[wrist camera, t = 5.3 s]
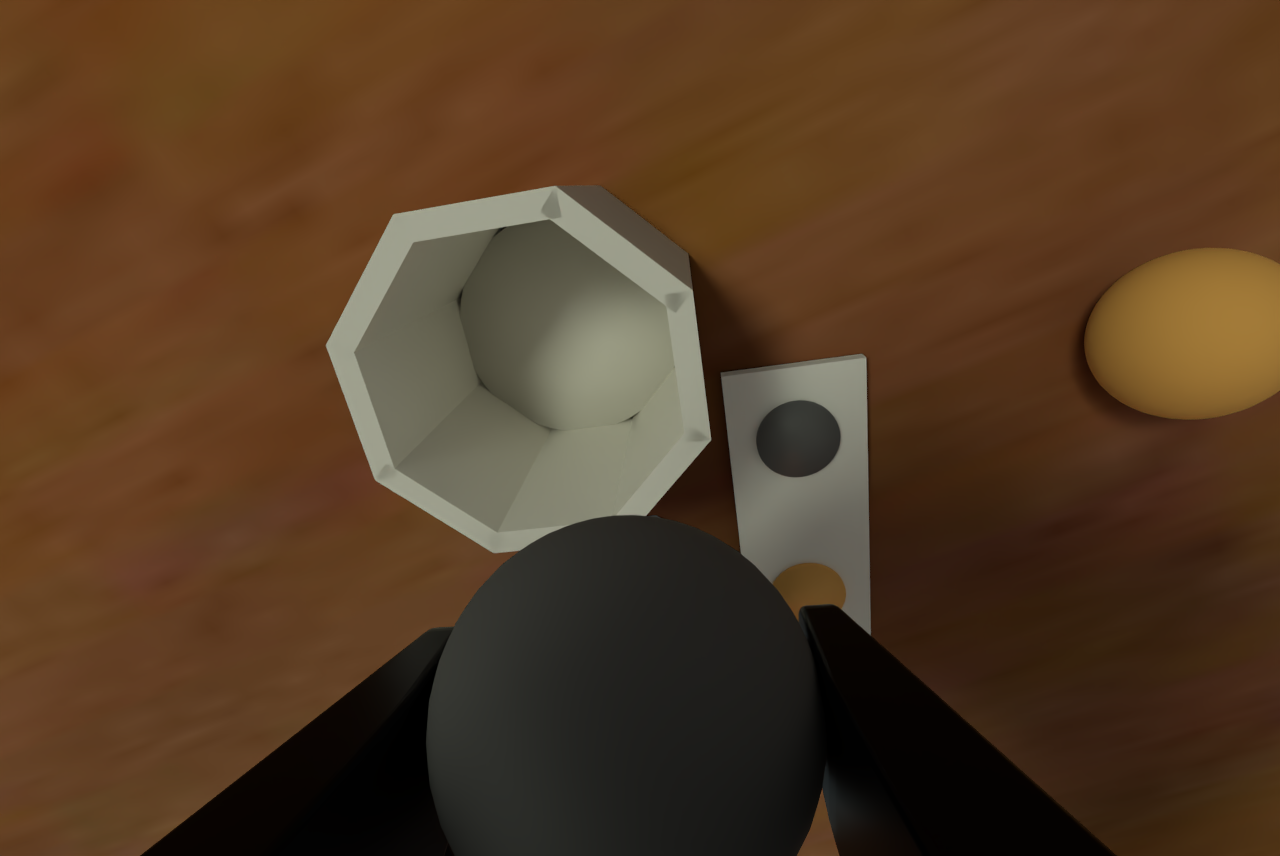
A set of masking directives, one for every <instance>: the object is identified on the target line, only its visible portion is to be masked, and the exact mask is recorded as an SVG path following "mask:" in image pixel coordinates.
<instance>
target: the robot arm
mask: <svg viewBox="0 0 1280 856" xmlns="http://www.w3.org/2000/svg"><path fill="white" fill-rule="evenodd" d="M799 624H800V626H801V628H802V630H803V632H804V634H805V636H806V638H807V640H808V643H809V646H810V648H811V651H812V654H813V656H814V659H815V663H816V668H817V672H818V677H819V682H820V686H821V693H822V699H823V706H824V712H825V721H826V733H827V753H826V764H825V772H824V779H823V786H822V788H823V793H824V798H825V802H826V807H827V812H828V816H829V820H830V824H831V827H832V831H833V835H834V838H835V842H836V845H837V849H838V852H839V855H840V856H1117V855H1115V854H1114V853H1113V852H1112V851H1111V850H1110V849H1109V848H1108V847H1107V846H1105V845H1104V844H1103V843H1102V842H1101V841H1100V840H1099V839H1098V838H1096V837H1095V836H1094V835H1093V834H1092V833H1091V832H1090V831H1089V830H1088V829H1086V828H1085V827H1084V826H1083V825H1082V824H1081V823H1080V822H1079V821H1077V820H1076V819H1075V818H1074V817H1073V816H1072V815H1071V814H1070V813H1069V812H1067V811H1066V810H1065V809H1064V808H1063V807H1062V806H1061V805H1060V804H1058V803H1057V802H1056V801H1055V800H1054V799H1053V798H1052V797H1051V796H1049V795H1048V794H1047V793H1046V792H1045V791H1044V790H1043V789H1042V788H1041V787H1039V786H1038V785H1037V784H1036V783H1035V782H1034V781H1033V780H1032V779H1030V778H1029V777H1028V776H1027V775H1026V774H1025V773H1024V772H1023V771H1022V770H1020V769H1019V768H1018V767H1017V766H1016V765H1015V764H1014V763H1013V762H1011V761H1010V760H1009V759H1008V758H1007V757H1006V756H1005V755H1004V754H1003V753H1001V752H1000V751H999V750H998V749H997V748H996V747H995V746H994V745H992V744H991V743H990V742H989V741H988V740H987V739H986V738H985V737H984V736H982V735H981V734H980V733H979V732H978V731H977V730H976V729H975V728H973V727H972V726H971V725H970V724H969V723H968V722H967V721H966V720H965V719H963V718H962V717H961V716H960V715H959V714H958V713H957V712H956V711H954V710H953V709H952V708H951V707H950V706H949V705H948V704H947V703H946V702H944V701H943V700H942V699H941V698H940V697H939V696H938V695H937V694H935V693H934V692H933V691H932V690H931V689H930V688H929V687H928V686H927V685H925V684H924V683H923V682H922V681H921V680H920V679H919V678H918V677H916V676H915V675H914V674H913V673H912V672H911V671H910V670H909V669H908V668H906V667H905V666H904V665H903V664H902V663H901V662H900V661H899V660H897V659H896V658H895V657H894V656H893V655H892V654H891V653H890V652H889V651H887V650H886V649H885V648H884V647H883V646H882V645H881V644H880V643H878V642H877V641H876V640H875V639H874V638H873V637H872V636H871V635H870V634H868V633H867V632H866V631H865V630H864V629H863V628H862V627H861V626H859V625H858V624H857V623H856V622H855V621H854V620H853V619H852V618H851V617H849V616H848V615H847V614H846V613H845V612H844V611H843V610H842V609H840V608H839V607H838V606H836V605H834V604H822V605H805V606H802V607H801V608H800V610H799ZM453 628H454V627H439V628H432V629H430V630H428V631H427V632H425V633H424V634H423V635H421V636H420V637H419V638H417V639H416V640H415V641H414V642H412V643H411V644H410V645H408V646H407V647H406V648H405V649H403V650H402V651H401V652H400V653H398V654H397V655H396V656H394V657H393V658H392V659H391V660H389V661H388V662H387V663H386V664H384V665H383V666H382V667H380V668H379V669H378V670H377V671H375V672H374V673H373V674H371V675H370V676H369V677H368V678H366V679H365V680H364V681H363V682H361V683H360V684H359V685H357V686H356V687H355V688H354V689H352V690H351V691H350V692H349V693H347V694H346V695H345V696H343V697H342V698H341V699H340V700H338V701H337V702H336V703H334V704H333V705H332V706H331V707H329V708H328V709H327V710H326V711H324V712H323V713H322V714H320V715H319V716H318V717H317V718H315V719H314V720H313V721H312V722H310V723H309V724H308V725H306V726H305V727H304V728H303V729H301V730H300V731H299V732H297V733H296V734H295V735H294V736H292V737H291V738H290V739H289V740H287V741H286V742H285V743H283V744H282V745H281V746H280V747H278V748H277V749H276V750H275V751H273V752H272V753H271V754H269V755H268V756H267V757H266V758H264V759H263V760H262V761H260V762H259V763H258V764H257V765H255V766H254V767H253V768H252V769H250V770H249V771H248V772H246V773H245V774H244V775H243V776H241V777H240V778H239V779H237V780H236V781H235V782H234V783H232V784H231V785H230V786H229V787H227V788H226V789H225V790H223V791H222V792H221V793H220V794H218V795H217V796H216V797H214V798H213V799H212V800H211V801H209V802H208V803H207V804H206V805H204V806H203V807H202V808H200V809H199V810H198V811H197V812H195V813H194V814H193V815H191V816H190V817H189V818H188V819H186V820H185V821H184V822H183V823H181V824H180V825H179V826H177V827H176V828H175V829H174V830H172V831H171V832H170V833H168V834H167V835H166V836H165V837H163V838H162V839H161V840H160V841H158V842H157V843H156V844H154V845H153V846H152V847H151V848H149V849H148V850H147V851H146V852H144V853H143V854H142V855H140V856H454V854H453V852H452V849H451V847H450V845H449V843H448V841H447V839H446V836H445V834H444V832H443V830H442V828H441V826H440V822H439V818H438V815H437V811H436V808H435V804H434V800H433V796H432V792H431V789H430V783H429V773H428V763H427V751H426V734H427V720H428V708H429V699H430V695H431V691H432V687H433V682H434V678H435V675H436V671H437V667H438V664H439V660H440V658H441V655H442V653H443V650H444V648H445V646H446V643H447V641H448V639H449V637H450V635H451V632H452V630H453Z"/></svg>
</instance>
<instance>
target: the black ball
mask: <svg viewBox="0 0 1280 856" xmlns="http://www.w3.org/2000/svg"><path fill="white" fill-rule="evenodd" d="M426 751H427V763H428V773H429V783H430V789H431V792H432V796H433V800H434V804H435V808H436V811H437V815H438V818H439V822H440V826H441V828H442V830H443V832H444V834H445V836H446V839H447V841H448V843H449V845H450V847H451V849H452V852H453V854H454V856H797V854H798V852H799V850H800V848H801V846H802V844H803V842H804V840H805V838H806V836H807V834H808V832H809V830H810V827H811V824H812V821H813V818H814V814H815V811H816V808H817V805H818V801H819V798H820V794H821V790H822V786H823V779H824V772H825V764H826V753H827V733H826V721H825V712H824V706H823V699H822V693H821V686H820V682H819V677H818V672H817V668H816V663H815V659H814V656H813V654H812V651H811V648H810V646H809V643H808V640H807V638H806V636H805V634H804V632H803V630H802V628H801V626H800V624H799V622H798V620H797V619H796V617H795V615H794V613H793V612H792V610H791V608H790V607H789V605H788V604H787V603H786V601H785V600H784V598H783V597H782V595H781V594H780V592H779V591H778V590H777V589H776V588H775V587H774V585H773V584H772V583H771V582H770V581H769V580H768V579H767V578H766V577H765V576H764V575H763V574H762V572H761V571H760V570H759V569H758V568H757V567H756V566H755V565H754V564H753V563H751V562H750V561H749V560H748V559H747V558H745V557H744V556H743V555H742V554H741V553H739V552H738V551H736V550H735V549H733V548H732V547H730V546H728V545H727V544H725V543H724V542H722V541H720V540H719V539H717V538H716V537H714V536H712V535H710V534H708V533H706V532H703V531H701V530H699V529H697V528H695V527H692V526H689V525H686V524H683V523H680V522H677V521H673V520H668V519H663V518H658V517H651V516H641V515H614V516H606V517H599V518H593V519H589V520H585V521H582V522H578V523H574V524H571V525H569V526H566V527H563V528H561V529H558V530H556V531H553V532H551V533H548V534H546V535H545V536H543V537H541V538H539V539H538V540H536V541H534V542H532V543H530V544H529V545H528V546H526V547H525V548H523V549H522V550H521V551H519V552H518V553H517V554H515V555H514V556H513V557H511V558H510V559H509V560H507V561H506V562H505V563H503V564H502V565H501V566H500V567H499V568H498V569H497V570H496V571H495V573H494V574H493V575H492V576H491V577H490V578H489V579H488V580H487V581H486V582H485V583H484V584H483V585H482V586H481V587H480V588H479V590H478V591H477V592H476V594H475V595H474V596H473V598H472V599H471V601H470V602H469V604H468V605H467V606H466V608H465V609H464V611H463V613H462V614H461V616H460V617H459V619H458V621H457V622H456V624H455V626H454V628H453V630H452V632H451V635H450V637H449V639H448V641H447V643H446V646H445V648H444V650H443V653H442V655H441V658H440V660H439V664H438V667H437V671H436V675H435V678H434V682H433V687H432V691H431V695H430V699H429V708H428V720H427V734H426Z"/></svg>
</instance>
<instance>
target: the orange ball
mask: <svg viewBox="0 0 1280 856" xmlns="http://www.w3.org/2000/svg"><path fill="white" fill-rule="evenodd" d="M1084 349H1085V355H1086V359H1087V363H1088V366H1089V368H1090V370H1091V372H1092V374H1093V375H1094V377H1095V379H1096V380H1097V381H1098V383H1099V384H1100V385H1101V386H1102V387H1103V388H1104V389H1105V390H1106V391H1107V392H1108V393H1109V394H1110V395H1111V396H1113V397H1114V398H1115V399H1117V400H1118V401H1120V402H1121V403H1123V404H1125V405H1127V406H1129V407H1131V408H1133V409H1135V410H1138V411H1140V412H1143V413H1146V414H1149V415H1154V416H1158V417H1164V418H1169V419H1186V420H1194V419H1207V418H1214V417H1220V416H1224V415H1228V414H1232V413H1235V412H1239V411H1242V410H1244V409H1247V408H1250V407H1252V406H1254V405H1256V404H1258V403H1260V402H1262V401H1264V400H1266V399H1267V398H1269V397H1271V396H1273V395H1274V394H1276V393H1277V392H1278V391H1280V264H1278V263H1276V262H1274V261H1273V260H1271V259H1268V258H1266V257H1263V256H1260V255H1257V254H1255V253H1251V252H1246V251H1241V250H1236V249H1231V248H1198V249H1189V250H1184V251H1179V252H1174V253H1171V254H1167V255H1164V256H1161V257H1158V258H1155V259H1153V260H1151V261H1148V262H1146V263H1144V264H1142V265H1140V266H1138V267H1137V268H1135V269H1133V270H1131V271H1130V272H1128V273H1127V274H1125V275H1124V276H1122V277H1121V278H1120V279H1119V280H1117V281H1116V282H1115V283H1114V284H1113V285H1112V286H1111V287H1110V288H1109V289H1108V290H1107V291H1106V292H1105V293H1104V294H1103V296H1102V297H1101V298H1100V299H1099V301H1098V302H1097V304H1096V305H1095V307H1094V309H1093V311H1092V313H1091V315H1090V317H1089V320H1088V323H1087V326H1086V331H1085V336H1084Z"/></svg>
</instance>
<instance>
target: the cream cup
mask: <svg viewBox="0 0 1280 856" xmlns="http://www.w3.org/2000/svg"><path fill="white" fill-rule="evenodd" d="M507 226H508V227H507ZM503 227H506V228H504V229H503V230H502V228H503ZM501 230H502V231H501ZM326 347H327V350H328V352H329V355H330V358H331V361H332V363H333V366H334V369H335V372H336V374H337V377H338V380H339V383H340V385H341V388H342V391H343V394H344V396H345V399H346V402H347V404H348V407H349V410H350V413H351V415H352V418H353V421H354V424H355V426H356V429H357V432H358V435H359V437H360V440H361V443H362V446H363V448H364V451H365V454H366V456H367V459H368V462H369V465H370V467H371V470H372V473H373V476H374V478H375V480H376V481H377V482H379V483H380V484H382V485H384V486H385V487H387V488H389V489H390V490H392V491H393V492H395V493H397V494H398V495H400V496H402V497H403V498H405V499H407V500H408V501H410V502H411V503H413V504H415V505H416V506H418V507H420V508H421V509H423V510H424V511H426V512H428V513H429V514H431V515H433V516H434V517H436V518H437V519H439V520H441V521H442V522H444V523H446V524H447V525H449V526H450V527H452V528H454V529H455V530H457V531H459V532H460V533H462V534H463V535H465V536H467V537H468V538H470V539H472V540H473V541H475V542H476V543H478V544H480V545H481V546H483V547H485V548H486V549H488V550H489V551H491V552H493V553H501V552H511V551H520V550H522V549H523V548H525V547H526V546H528V545H529V544H530V543H532V542H534V541H536V540H538V539H539V538H541V537H543V536H545V535H546V534H548V533H551V532H553V531H556V530H558V529H561V528H563V527H566V526H569V525H571V524H574V523H578V522H582V521H585V520H589V519H593V518H599V517H606V516H614V515H641V516H646V515H647V514H648V513H649V512H650V510H651V509H652V508H653V507H654V506H655V505H656V504H657V502H658V501H659V500H660V499H661V498H662V497H663V495H664V494H665V493H666V492H667V491H668V490H669V488H670V487H671V486H672V485H673V484H674V483H675V481H676V480H677V479H678V478H679V477H680V476H681V475H682V473H683V472H684V471H685V470H686V469H687V468H688V466H689V465H690V464H691V463H692V462H693V461H694V459H695V458H696V457H697V456H698V455H699V454H700V452H701V451H702V450H703V449H704V448H705V447H706V446H707V444H708V443H709V442H710V441H711V433H710V425H709V417H708V409H707V401H706V393H705V385H704V377H703V368H702V360H701V352H700V344H699V336H698V328H697V320H696V312H695V304H694V296H693V288H692V280H691V272H690V264H689V256H688V253H687V252H686V251H684V250H683V249H682V248H680V247H679V246H678V245H676V244H675V243H674V242H673V241H671V240H670V239H669V238H667V237H666V236H665V235H664V234H662V233H661V232H660V231H658V230H657V229H656V228H654V227H653V226H652V225H651V224H649V223H648V222H647V221H645V220H644V219H643V218H642V217H640V216H639V215H638V214H636V213H635V212H634V211H633V210H631V209H630V208H629V207H627V206H626V205H625V204H623V203H622V202H621V201H620V200H618V199H617V198H616V197H614V196H613V195H612V194H611V193H609V192H608V191H607V190H605V189H604V188H603V187H602V186H552V187H546V188H541V189H535V190H529V191H524V192H518V193H512V194H507V195H501V196H495V197H490V198H484V199H478V200H473V201H467V202H461V203H455V204H450V205H444V206H438V207H433V208H427V209H421V210H416V211H410V212H404V213H399V214H393V216H392V218H391V220H390V222H389V224H388V226H387V228H386V230H385V232H384V234H383V235H382V237H381V239H380V241H379V243H378V245H377V247H376V249H375V251H374V253H373V255H372V257H371V259H370V261H369V263H368V265H367V267H366V269H365V270H364V272H363V274H362V276H361V278H360V280H359V282H358V284H357V286H356V288H355V290H354V292H353V294H352V296H351V298H350V300H349V302H348V304H347V305H346V307H345V309H344V311H343V313H342V315H341V317H340V319H339V321H338V323H337V325H336V327H335V329H334V331H333V333H332V335H331V337H330V339H329V340H328V342H327V344H326Z"/></svg>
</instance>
